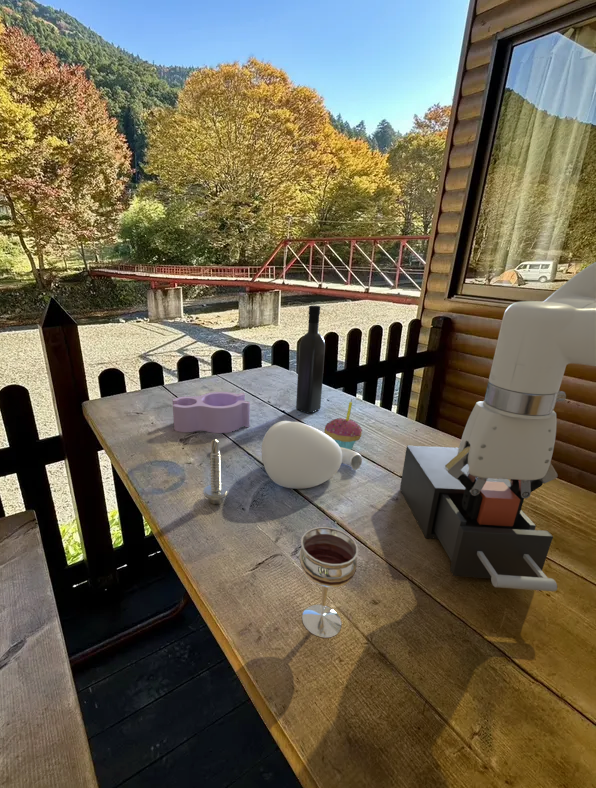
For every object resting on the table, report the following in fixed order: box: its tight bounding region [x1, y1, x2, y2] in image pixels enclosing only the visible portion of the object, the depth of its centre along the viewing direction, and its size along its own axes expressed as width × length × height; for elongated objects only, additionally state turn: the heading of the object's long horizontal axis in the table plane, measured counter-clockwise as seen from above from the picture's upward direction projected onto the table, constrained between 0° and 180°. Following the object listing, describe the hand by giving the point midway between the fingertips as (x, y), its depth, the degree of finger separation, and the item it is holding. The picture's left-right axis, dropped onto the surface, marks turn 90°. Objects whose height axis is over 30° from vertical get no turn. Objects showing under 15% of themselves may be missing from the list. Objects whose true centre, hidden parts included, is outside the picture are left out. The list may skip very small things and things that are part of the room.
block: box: [476, 481, 520, 526], centre depth 59 cm, size 4×4×4 cm
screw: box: [202, 438, 230, 505], centre depth 76 cm, size 13×5×5 cm
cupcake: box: [323, 398, 363, 450], centre depth 95 cm, size 9×8×12 cm
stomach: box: [260, 420, 363, 490], centre depth 90 cm, size 23×13×24 cm
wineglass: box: [298, 526, 359, 638], centre depth 51 cm, size 7×7×12 cm
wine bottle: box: [295, 305, 326, 413], centre depth 115 cm, size 6×6×30 cm
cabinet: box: [399, 445, 511, 540], centre depth 72 cm, size 15×13×10 cm
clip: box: [172, 391, 251, 434], centre depth 110 cm, size 20×12×7 cm, turn 99°
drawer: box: [432, 493, 558, 592], centre depth 60 cm, size 19×11×8 cm, turn 174°
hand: (488, 513), depth 60 cm, fingers closed on block, 4 cm apart
